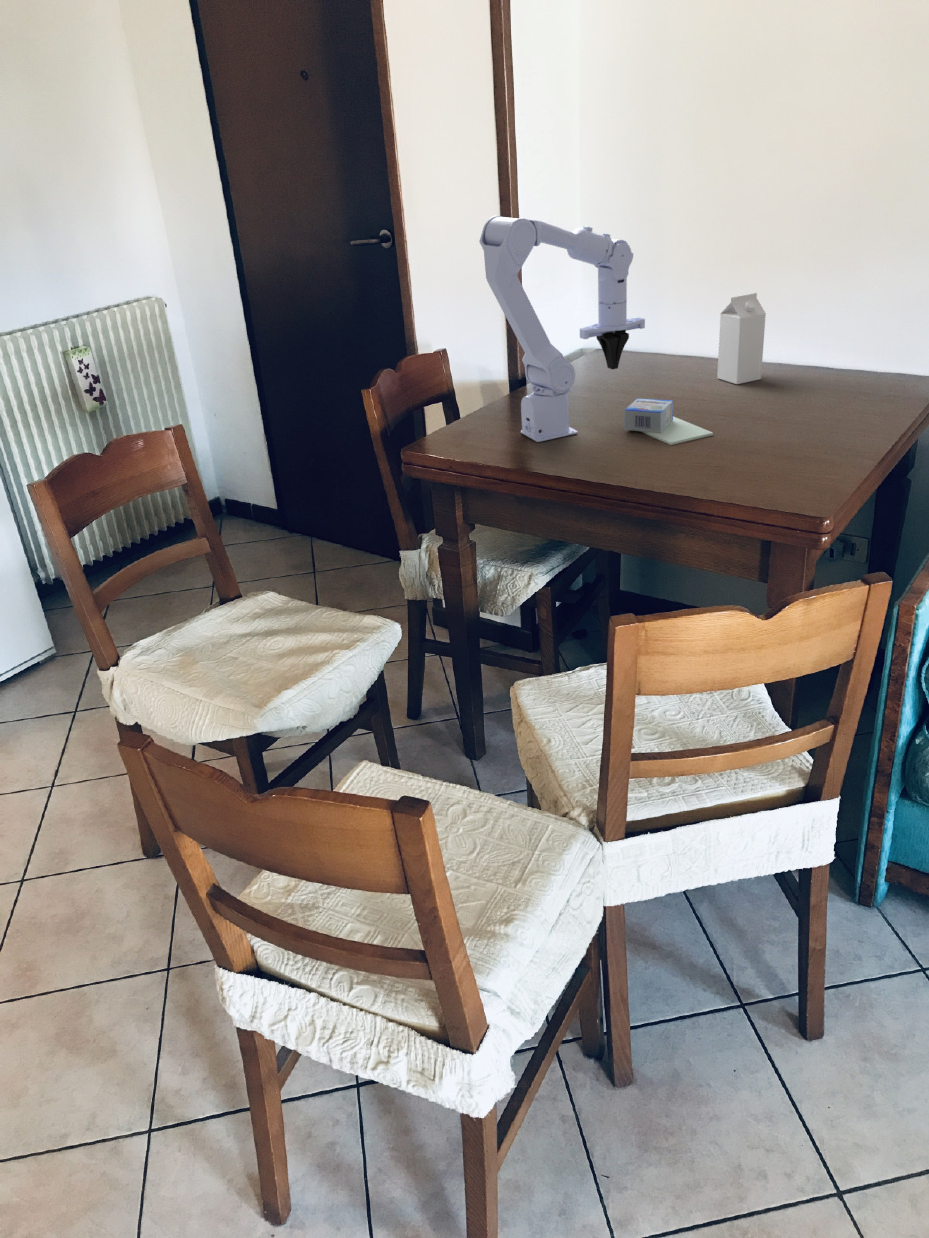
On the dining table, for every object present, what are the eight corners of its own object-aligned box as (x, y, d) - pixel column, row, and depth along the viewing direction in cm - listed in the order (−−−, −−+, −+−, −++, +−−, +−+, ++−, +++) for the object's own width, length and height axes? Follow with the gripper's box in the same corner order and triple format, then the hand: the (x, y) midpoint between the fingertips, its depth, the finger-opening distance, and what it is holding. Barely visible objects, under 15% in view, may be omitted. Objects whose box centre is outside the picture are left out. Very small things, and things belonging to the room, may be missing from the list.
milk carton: (716, 379, 225) (721, 295, 216) (741, 373, 227) (746, 291, 218) (736, 385, 219) (741, 300, 210) (761, 379, 221) (767, 295, 212)
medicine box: (623, 410, 193) (636, 397, 200) (623, 431, 195) (636, 418, 202) (661, 412, 190) (673, 399, 196) (661, 434, 192) (673, 420, 199)
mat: (670, 445, 187) (670, 442, 187) (629, 426, 199) (629, 423, 199) (712, 435, 190) (713, 432, 190) (669, 417, 202) (669, 414, 202)
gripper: (591, 310, 189) (592, 378, 195) (653, 299, 194) (652, 365, 200) (573, 304, 195) (575, 371, 201) (634, 294, 199) (634, 359, 206)
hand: (612, 368), depth 201 cm, fingers closed
